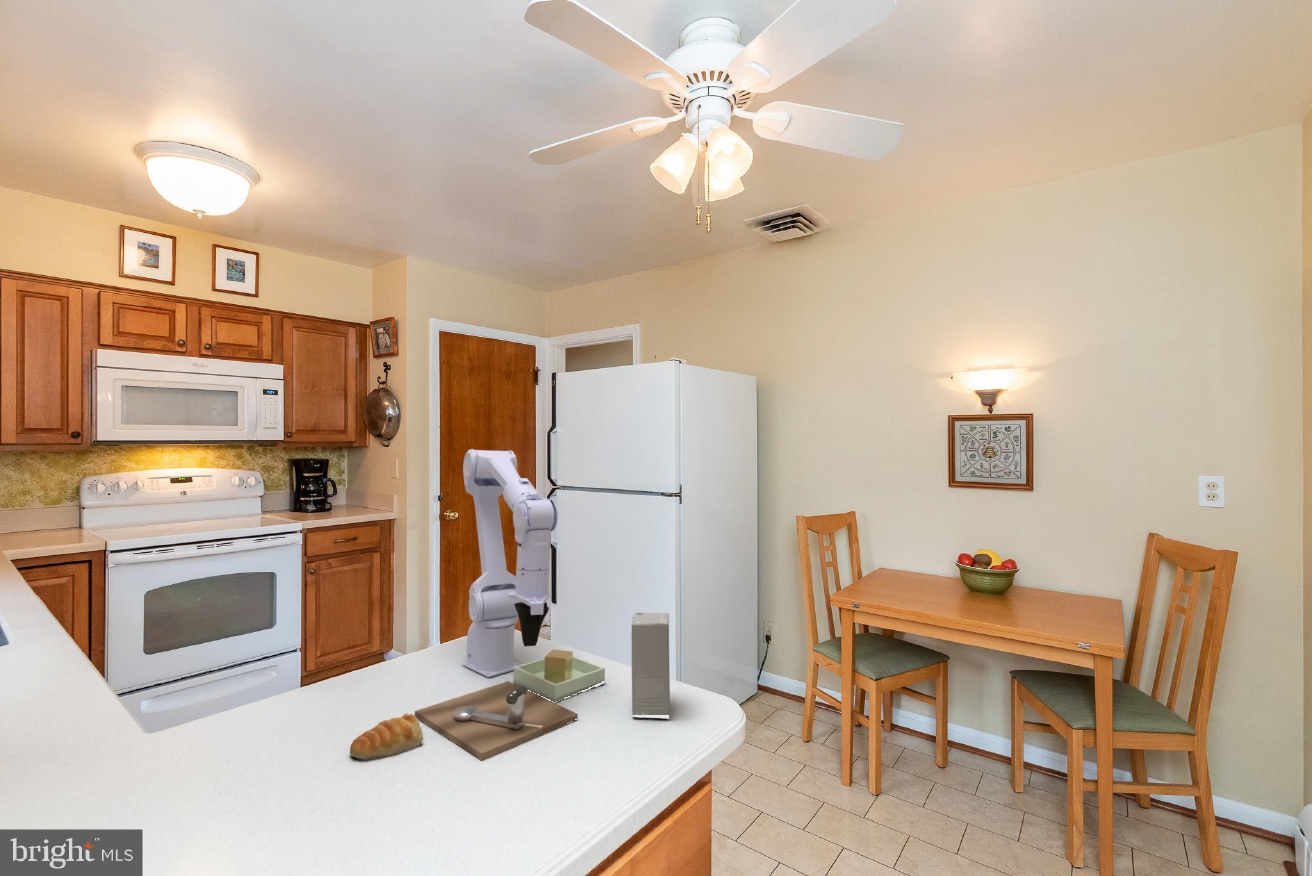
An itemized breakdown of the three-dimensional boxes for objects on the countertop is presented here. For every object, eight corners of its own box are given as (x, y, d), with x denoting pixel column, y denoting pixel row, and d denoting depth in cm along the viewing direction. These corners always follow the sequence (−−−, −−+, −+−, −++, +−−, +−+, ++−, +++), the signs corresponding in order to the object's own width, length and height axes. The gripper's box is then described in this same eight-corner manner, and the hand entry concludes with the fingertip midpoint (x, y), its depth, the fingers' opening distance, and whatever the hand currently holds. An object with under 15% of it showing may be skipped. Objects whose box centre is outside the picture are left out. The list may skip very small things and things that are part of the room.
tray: (513, 683, 112) (513, 667, 112) (562, 667, 121) (563, 652, 121) (554, 703, 104) (555, 685, 104) (604, 684, 113) (605, 668, 113)
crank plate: (414, 717, 97) (414, 710, 97) (508, 686, 110) (508, 680, 110) (481, 760, 84) (481, 752, 84) (577, 720, 98) (577, 713, 98)
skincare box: (669, 721, 99) (673, 625, 99) (626, 719, 99) (630, 623, 99) (669, 700, 107) (673, 611, 107) (629, 698, 107) (633, 609, 108)
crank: (446, 720, 94) (448, 684, 94) (464, 708, 98) (465, 673, 98) (514, 734, 90) (515, 696, 90) (529, 721, 94) (531, 685, 94)
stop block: (543, 683, 110) (545, 656, 110) (551, 675, 114) (552, 649, 114) (564, 686, 109) (565, 658, 109) (571, 678, 113) (572, 651, 113)
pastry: (361, 770, 81) (362, 741, 81) (340, 752, 86) (342, 725, 86) (426, 745, 88) (428, 719, 88) (404, 730, 93) (405, 705, 93)
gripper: (506, 560, 111) (502, 633, 111) (514, 577, 98) (510, 661, 98) (544, 559, 114) (541, 631, 114) (557, 576, 100) (553, 657, 100)
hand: (529, 644), depth 106 cm, fingers closed
